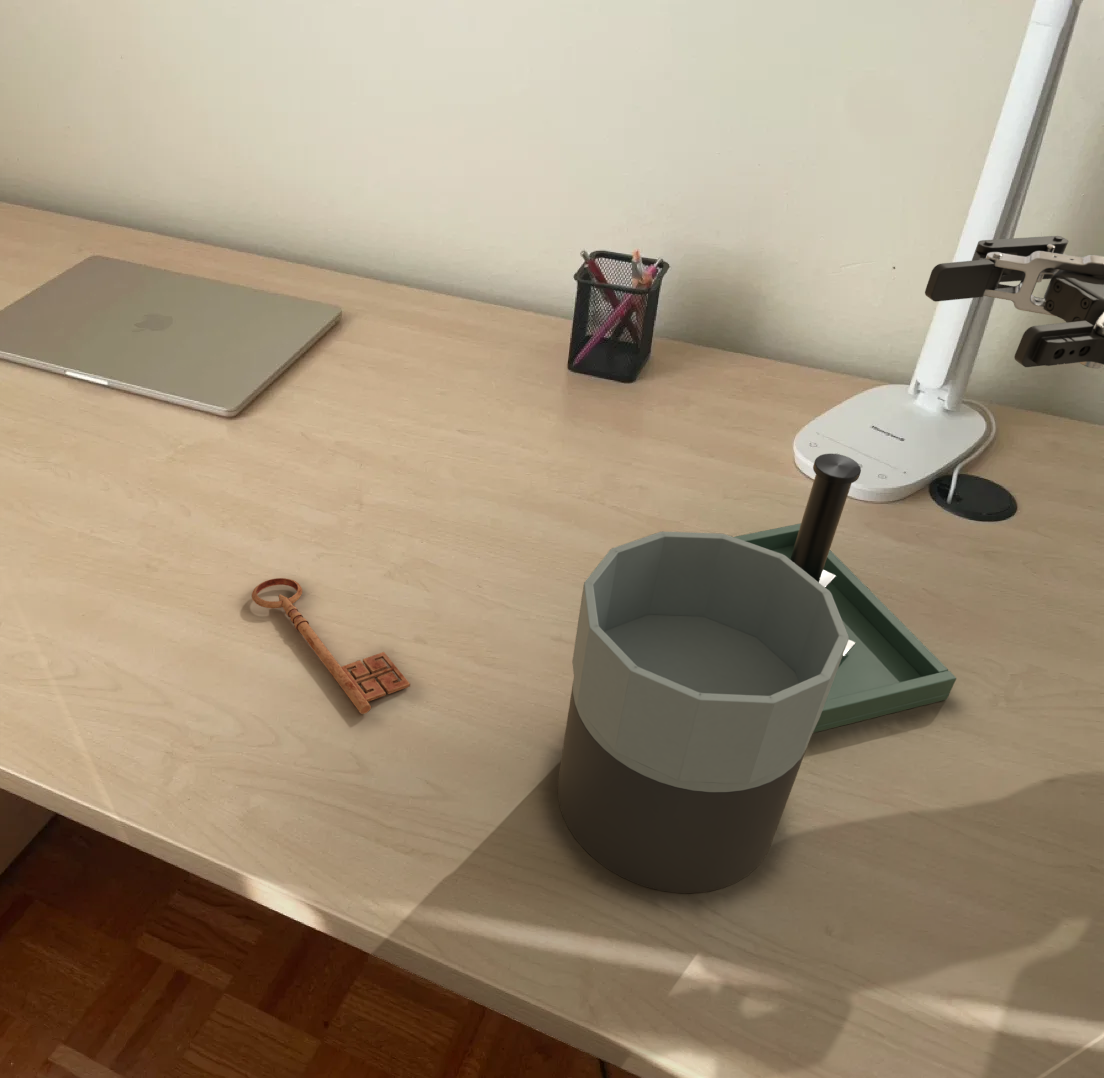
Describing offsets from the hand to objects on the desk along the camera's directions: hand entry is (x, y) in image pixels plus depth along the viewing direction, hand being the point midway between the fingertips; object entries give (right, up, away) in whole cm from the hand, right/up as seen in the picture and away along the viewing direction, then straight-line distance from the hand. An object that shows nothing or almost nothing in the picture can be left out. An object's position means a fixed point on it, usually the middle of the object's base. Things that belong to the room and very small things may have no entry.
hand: (975, 313), depth 62 cm
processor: (-17, -29, +3) cm, 34 cm away
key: (-39, -21, +14) cm, 46 cm away
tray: (-6, -20, +14) cm, 25 cm away
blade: (-6, -19, +14) cm, 25 cm away
